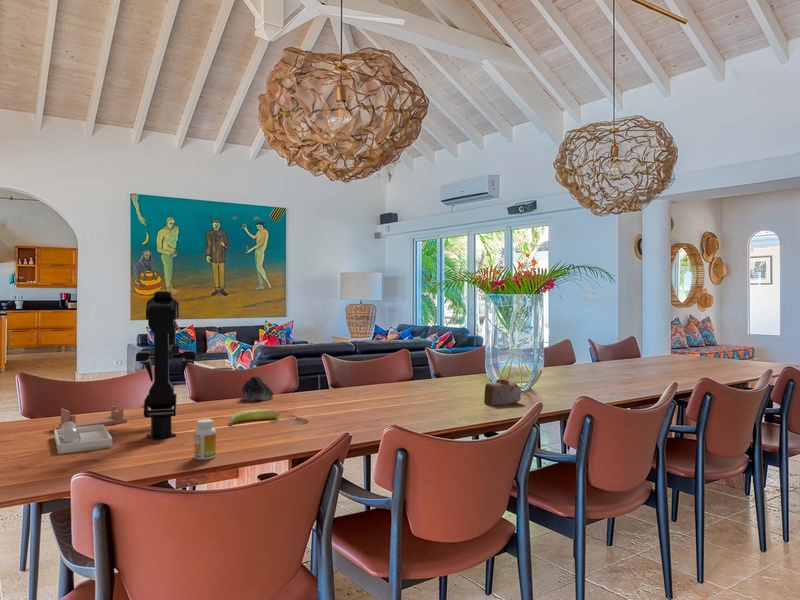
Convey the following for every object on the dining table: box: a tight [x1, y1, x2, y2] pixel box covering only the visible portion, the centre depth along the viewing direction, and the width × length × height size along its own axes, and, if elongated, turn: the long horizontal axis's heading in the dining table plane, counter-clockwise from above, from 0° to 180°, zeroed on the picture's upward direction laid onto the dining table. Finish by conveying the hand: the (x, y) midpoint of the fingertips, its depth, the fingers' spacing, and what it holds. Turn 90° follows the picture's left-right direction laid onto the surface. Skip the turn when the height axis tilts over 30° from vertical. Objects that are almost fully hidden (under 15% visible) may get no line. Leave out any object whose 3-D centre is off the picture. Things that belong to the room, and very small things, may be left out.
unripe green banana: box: [211, 408, 309, 432], centre depth 200 cm, size 35×27×4 cm
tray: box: [53, 424, 114, 455], centre depth 170 cm, size 21×13×2 cm, turn 33°
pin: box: [60, 421, 81, 444], centre depth 169 cm, size 16×4×4 cm
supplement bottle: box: [193, 418, 217, 461], centre depth 156 cm, size 5×5×10 cm
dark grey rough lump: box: [242, 376, 274, 402], centre depth 241 cm, size 13×14×10 cm
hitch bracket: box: [58, 405, 128, 429], centre depth 192 cm, size 18×7×6 cm, turn 137°
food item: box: [483, 378, 522, 407], centre depth 234 cm, size 14×8×10 cm, turn 118°
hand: (166, 381), depth 201 cm, fingers open, 9 cm apart
